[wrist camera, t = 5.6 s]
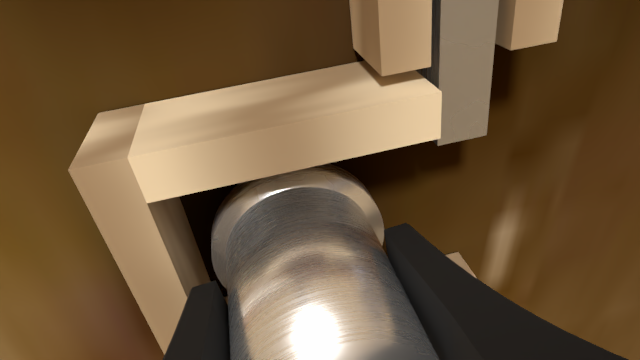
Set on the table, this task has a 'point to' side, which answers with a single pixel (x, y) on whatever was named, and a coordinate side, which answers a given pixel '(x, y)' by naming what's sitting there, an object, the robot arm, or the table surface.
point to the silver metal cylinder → (311, 272)
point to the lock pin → (462, 65)
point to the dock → (265, 140)
